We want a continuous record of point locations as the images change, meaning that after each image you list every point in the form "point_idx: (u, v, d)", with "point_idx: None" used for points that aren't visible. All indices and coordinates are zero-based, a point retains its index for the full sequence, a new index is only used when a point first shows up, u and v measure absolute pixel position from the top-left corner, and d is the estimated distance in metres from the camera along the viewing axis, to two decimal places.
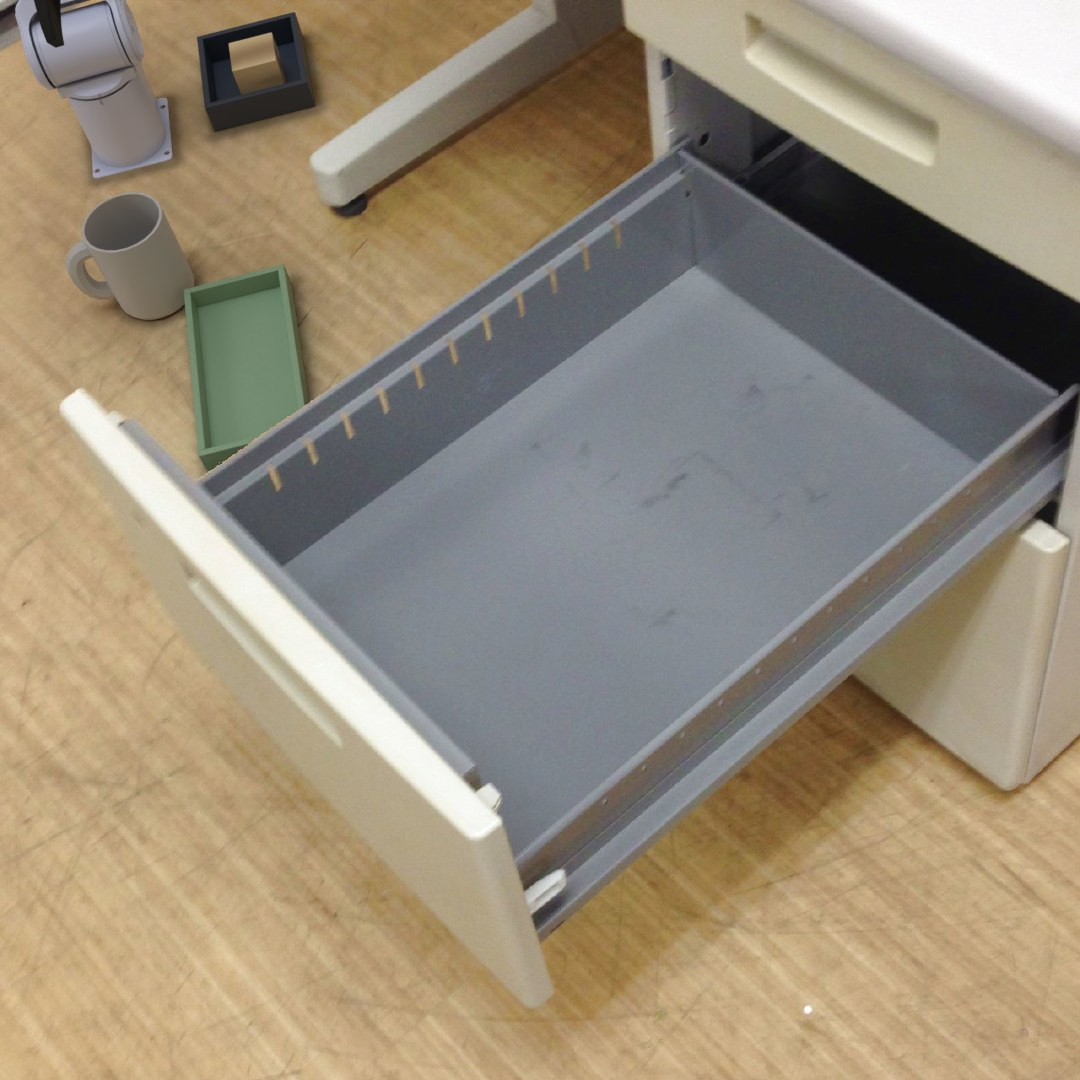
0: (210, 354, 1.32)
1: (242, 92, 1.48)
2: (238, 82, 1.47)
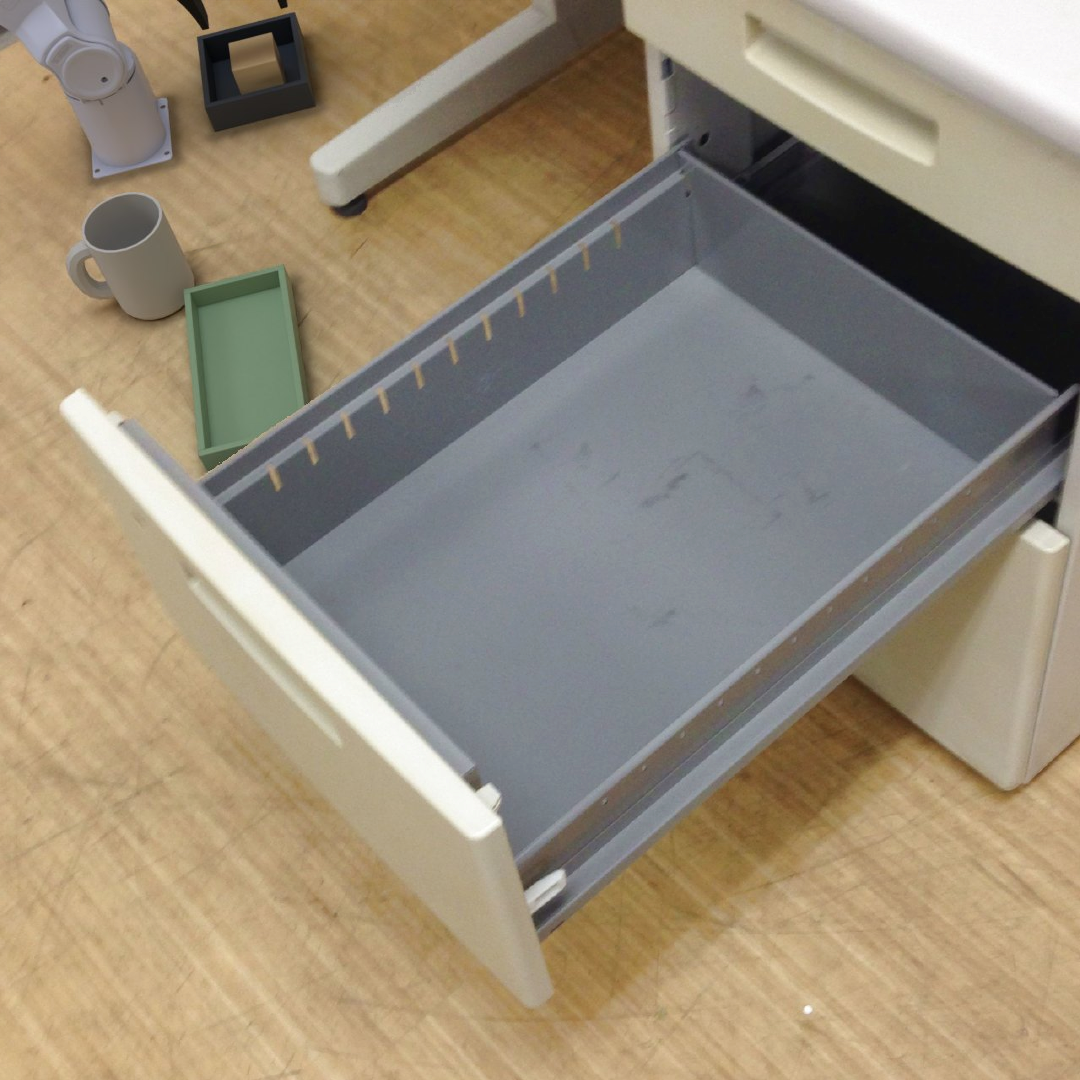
0: (210, 354, 1.32)
1: (242, 92, 1.48)
2: (238, 82, 1.47)
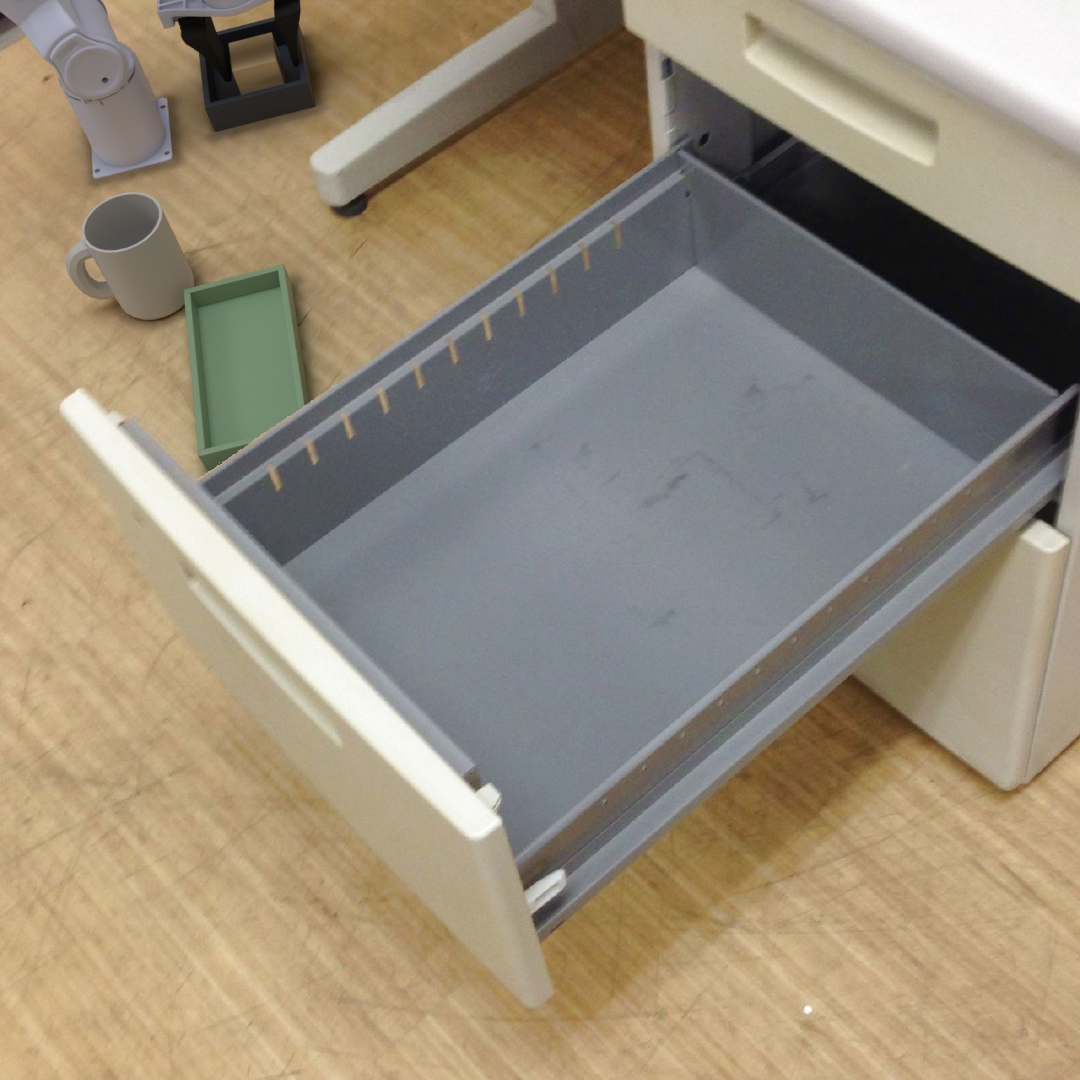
0: (210, 354, 1.32)
1: (242, 92, 1.48)
2: (238, 82, 1.47)
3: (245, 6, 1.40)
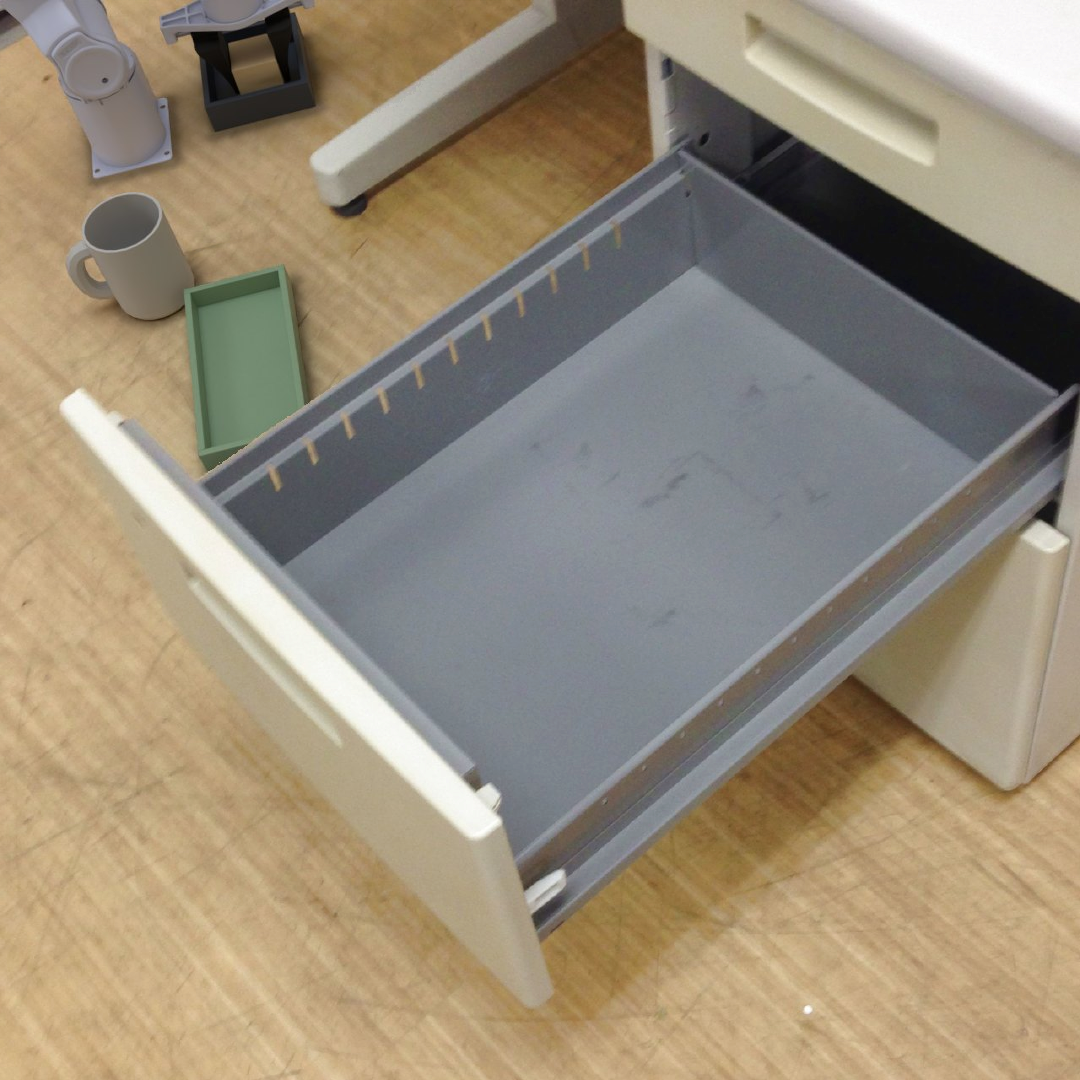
0: (210, 354, 1.32)
1: (242, 92, 1.48)
2: (238, 82, 1.47)
3: (249, 20, 1.41)
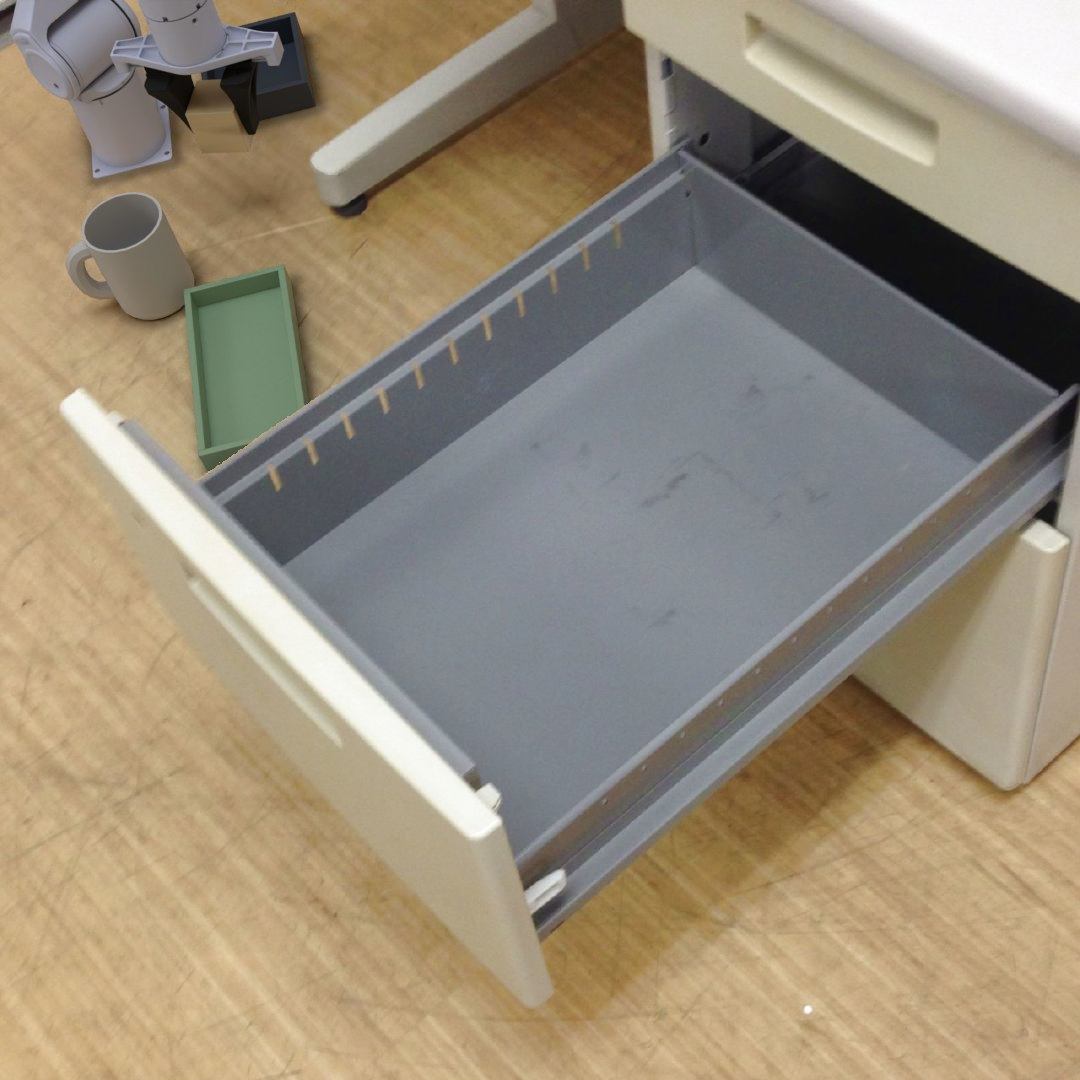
0: (210, 354, 1.32)
1: (197, 137, 1.33)
2: (192, 127, 1.32)
3: (199, 67, 1.26)
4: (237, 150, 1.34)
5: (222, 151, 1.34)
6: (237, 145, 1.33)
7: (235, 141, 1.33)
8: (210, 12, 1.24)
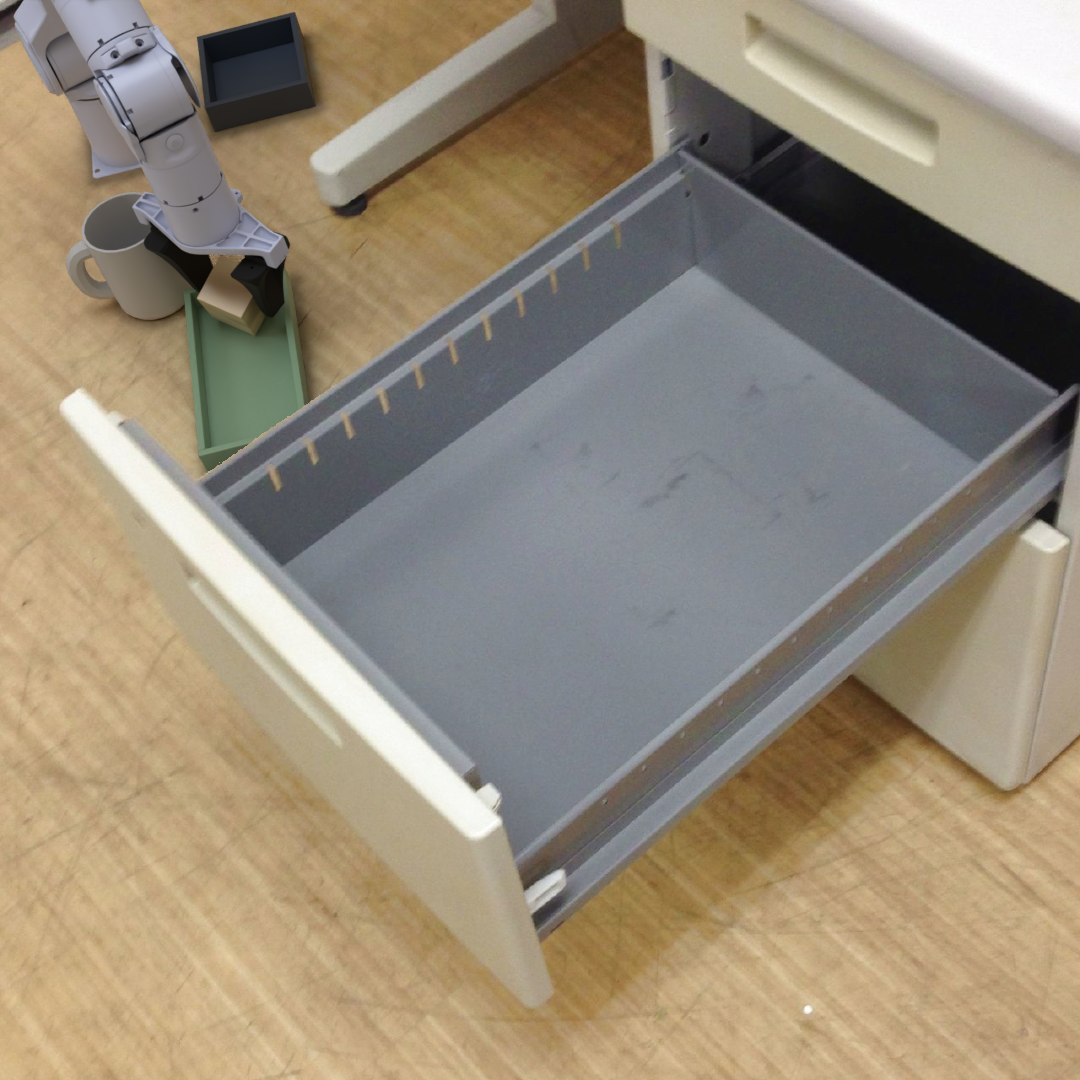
0: (210, 354, 1.32)
1: (207, 310, 1.32)
2: (203, 305, 1.30)
3: (198, 250, 1.23)
4: (244, 331, 1.33)
5: None
6: (244, 329, 1.32)
7: (243, 328, 1.32)
8: (216, 203, 1.21)
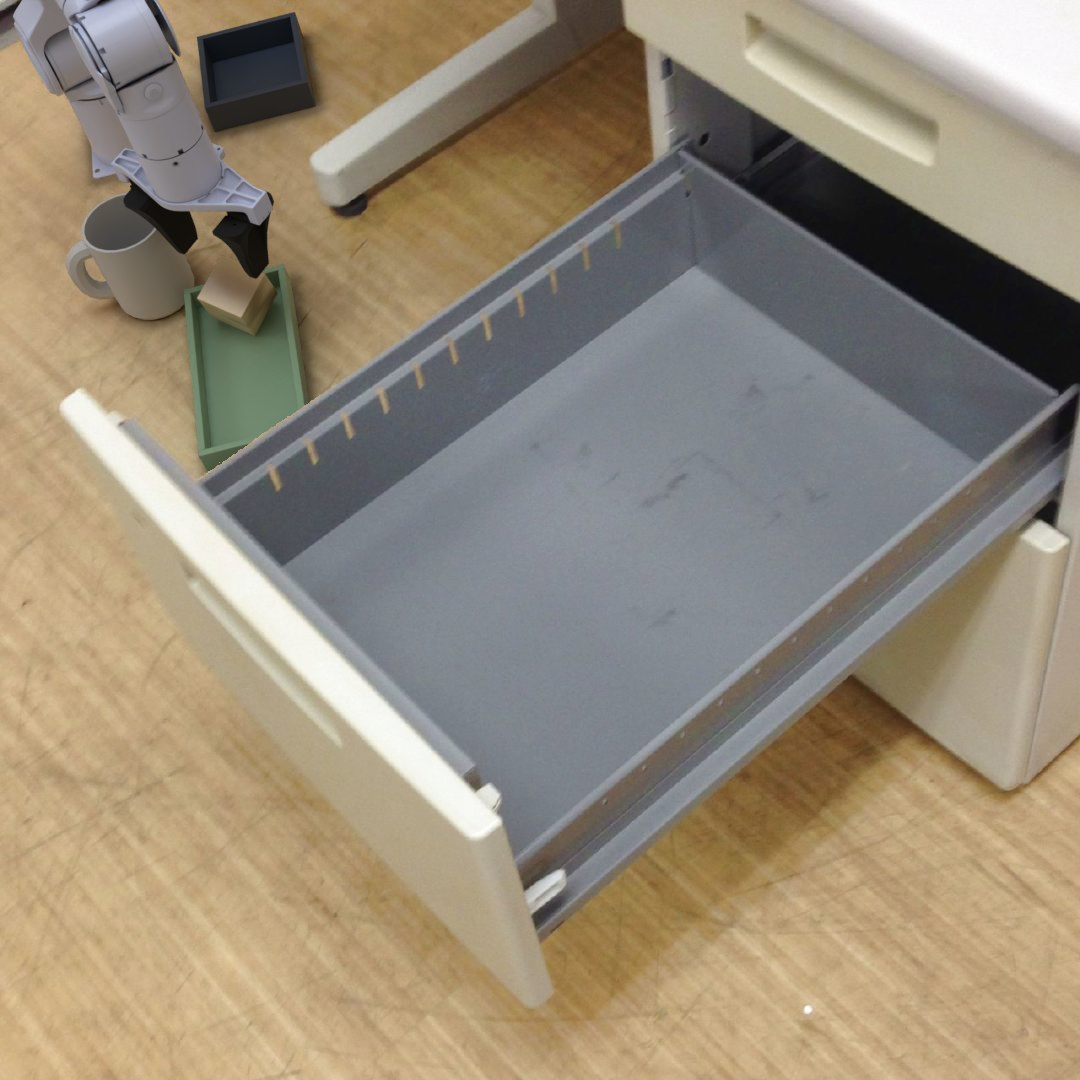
0: (210, 354, 1.32)
1: (207, 310, 1.32)
2: (203, 305, 1.30)
3: (179, 206, 1.19)
4: (244, 331, 1.33)
5: None
6: (244, 329, 1.32)
7: (243, 328, 1.32)
8: (196, 157, 1.17)
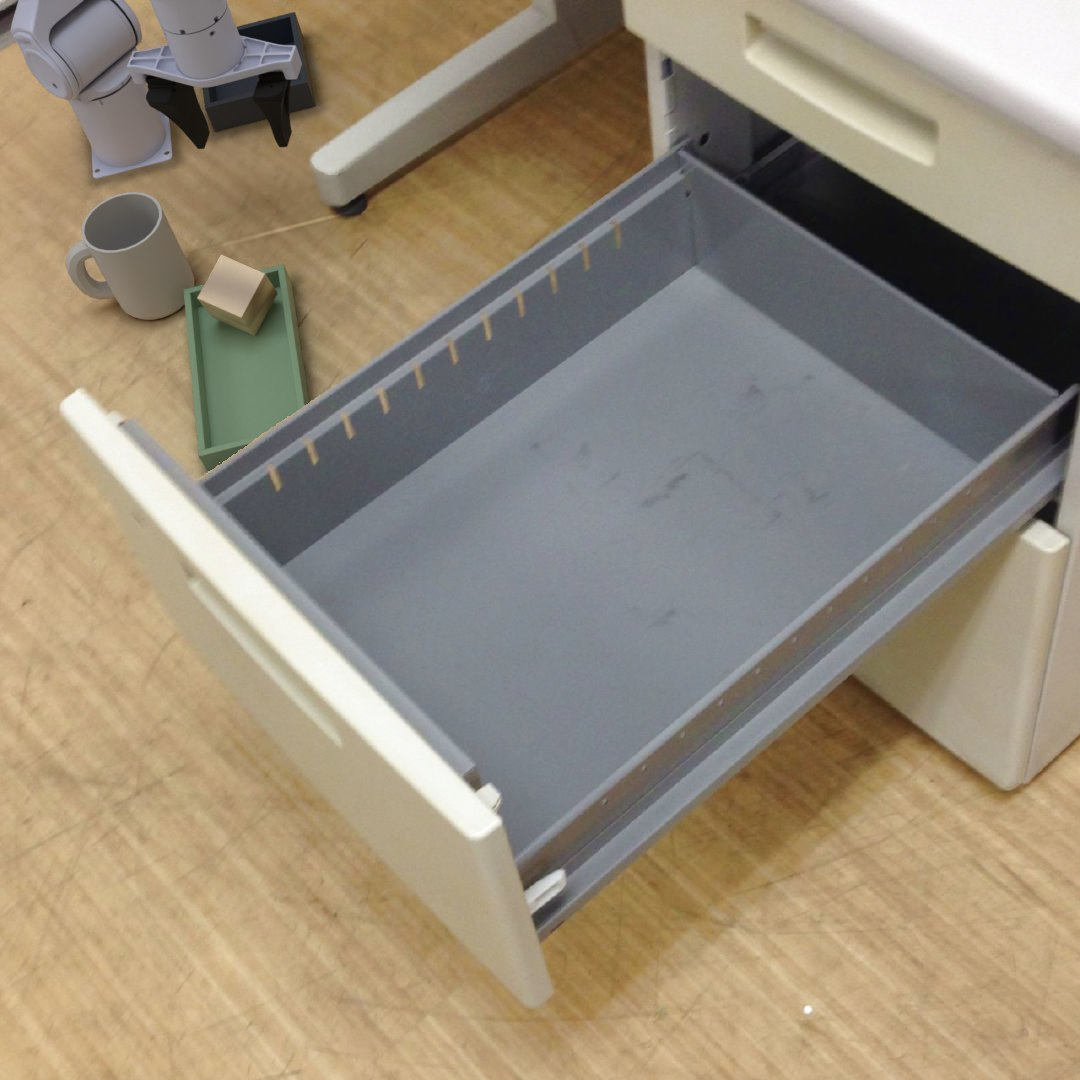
0: (210, 354, 1.32)
1: (207, 310, 1.32)
2: (203, 305, 1.30)
3: (216, 80, 1.25)
4: (244, 331, 1.33)
5: None
6: (244, 329, 1.32)
7: (243, 328, 1.32)
8: (228, 24, 1.22)
